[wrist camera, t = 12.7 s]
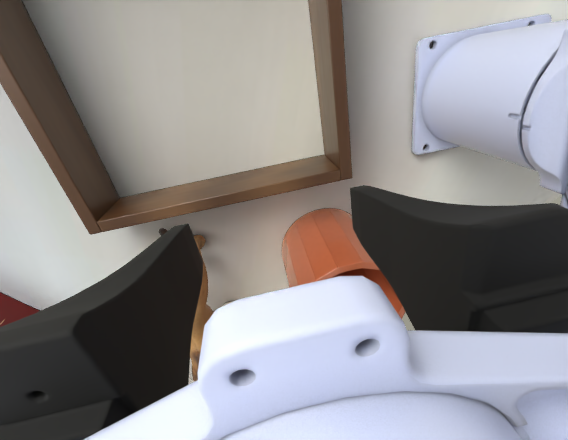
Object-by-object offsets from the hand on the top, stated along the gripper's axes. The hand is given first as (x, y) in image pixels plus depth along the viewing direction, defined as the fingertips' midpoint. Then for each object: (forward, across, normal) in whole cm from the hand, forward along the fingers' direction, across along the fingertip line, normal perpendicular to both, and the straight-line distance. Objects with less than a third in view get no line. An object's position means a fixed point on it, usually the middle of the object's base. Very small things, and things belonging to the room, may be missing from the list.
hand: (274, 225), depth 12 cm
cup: (+10, -4, +9) cm, 14 cm away
